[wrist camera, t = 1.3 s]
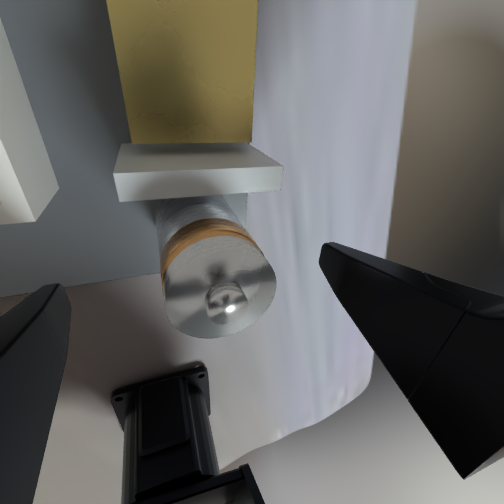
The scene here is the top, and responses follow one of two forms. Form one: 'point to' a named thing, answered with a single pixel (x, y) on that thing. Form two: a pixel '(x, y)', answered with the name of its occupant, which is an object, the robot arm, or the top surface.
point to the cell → (210, 267)
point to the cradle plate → (186, 68)
